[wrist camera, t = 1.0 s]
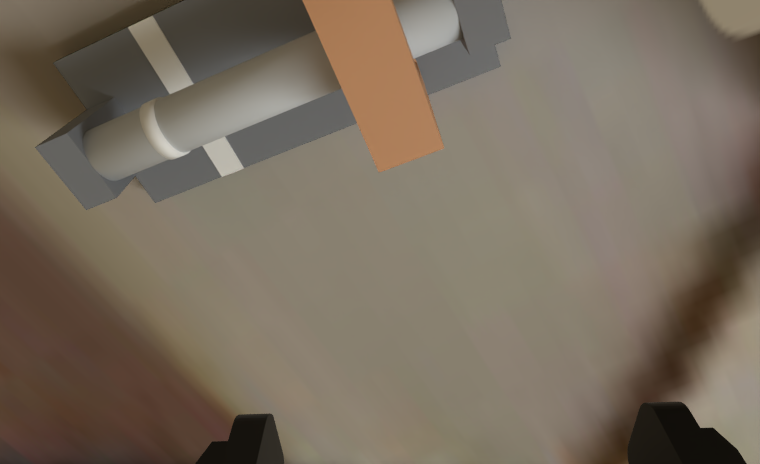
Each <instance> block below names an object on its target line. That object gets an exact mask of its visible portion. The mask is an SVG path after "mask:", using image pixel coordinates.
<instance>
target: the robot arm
mask: <svg viewBox="0 0 760 464" xmlns="http://www.w3.org/2000/svg"><path fill="white" fill-rule="evenodd" d="M628 462H629V464H746V462H745V461H744V459H743V458H742V456H741V454H740V453H739V451H738V450H737V449H736V448H735V447H734V446H733V445H732V444H731V443H729V442H728V441H727V440H726V439H725V438H724V437H723V436H722V435H720V434H719V433H718V432H717V431H716V430H715V429H714V428H700V427H699V425H698V424H697V422H696V420H695V419H694V417H693V415H692V414H691V412H690V410H689V409H688V408H687V406H686V405H685V404H683V403H682V402H654V403H643V404H642V405H641V406H640V409H639V412H638V415H637V419H636V422H635V425H634V428H633V431H632V435H631V438H630V441H629V444H628ZM196 464H284V457H283V452H282V448H281V444H280V440H279V436H278V432H277V429H276V425H275V421H274V417H273V415H272V414H246V415H238V416H236V418H235V420H234V423H233V426H232V429H231V433H230V436H229V440H228V441H218V442H211V444H210V445H209V446H208V448H207V449H206V450H205V452H204V453H203V454H202V456H201V457H200V458H199V460H198V461H197V462H196Z"/></svg>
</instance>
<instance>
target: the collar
mask: <svg viewBox="0 0 760 464" xmlns="http://www.w3.org/2000/svg"><path fill="white" fill-rule="evenodd" d="M302 1H303V3H304V5H305V7H306V10H307V12H308V14H309V16H310V19H311V21H312V23H313V25H314V27H315V30H316V32H317V34H318V36H319V39H320V41H321V43H322V45H323V48H324V50H325V52H326V54H327V57H328V59H329V61H330V63H331V66H332V68H333V70H334V72H335V75H336V77H337V79H338V81H339V84H340V86H341V88H342V90H343V93H344V95H345V97H346V99H347V101H348V104H349V106H350V108H351V110H352V113H353V115H354V117H355V119H356V122H357V124H358V126H359V128H360V131H361V133H362V135H363V137H364V140H365V142H366V144H367V146H368V149H369V151H370V153H371V155H372V158H373V160H374V162H375V164H376V167H377V169H378V171H379V172H382V171H385V170H387V169H390V168H393V167H395V166H398V165H401V164H403V163H406V162H409V161H411V160H414V159H417V158H419V157H422V156H425V155H427V154H430V153H433V152H435V151H438V150H441V149H443V148H444V146H443V142H442V139H441V136H440V133H439V129H438V126H437V123H436V120H435V117H434V113H433V110H432V107H431V104H430V100H429V97H428V94H427V91H426V87H425V84H424V81H423V78H422V75H421V73H420V70H419V67H418V64H417V61H416V59H414V58H413V56H412V53H411V50H410V47H409V45H408V42H407V39H406V36H405V33H404V31H403V28H402V25H401V22H400V20H399V17H398V14H397V11H396V8H395V6H394V3H393V0H302Z"/></svg>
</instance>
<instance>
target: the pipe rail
mask: <svg viewBox="0 0 760 464" xmlns="http://www.w3.org/2000/svg"><path fill="white" fill-rule="evenodd" d="M393 3H394V6H395V8H396V11H397V14H398V17H399V20H400V22H401V25H402V28H403V31H404V33H405V36H406V39H407V42H408V45H409V47H410V50H411V53H412V56H413V58H414V59H416V61H417V64H418V67H419V70H420V73H421V75H422V78H423V81H424V84H425V87H426V91H427V94H428V95H429V94H432V93H434V92H437V91H440V90H442V89H445V88H447V87H450V86H452V85H455V84H457V83H460V82H462V81H465V80H467V79H470V78H472V77H475V76H477V75H480V74H483V73H485V72H488V71H490V70H493V69H495V68H498V67H500V66H501V65H500V62H499V58H498V54H497V51H496V47H495V45H496V44H499V43H501V42H503V41H506V40H508V39H511V37H510V33H509V29H508V25H507V21H506V17H505V13H504V9H503V5H502V1H501V0H393ZM53 64H54V65H55V66H56V68H57V69H58V71H59V72H60V73H61V75H62V76H63V77H64V79H65V80H66V81H67V83H68V84H69V86H70V87H71V88H72V90H73V91H74V92H75V94H76V95H77V97H78V98H79V99H80V101H81V102H82V103H83V105H84V106H85V108H86V109H87V110H86V111H84V112H83V113H81V114H80V115H79V116H77V117H76V118H75V119H73V120H72V121H71V122H69V123H68V124H66V125H65V126H64V127H62V128H61V129H60V130H58V131H57V132H55V133H54V134H53V135H51V136H50V137H49V138H47V139H46V140H44V141H43V142H42V143H40V144H39V145H38V146H36V147H35V148H36V149H37V150H38V152H39V153H40V154H41V155H42V157H43V158H44V159H45V160H46V161H47V163H48V164H49V165H50V166H51V168H52V169H53V170H54V171H55V172H56V174H57V175H58V176H59V177H60V179H61V180H62V181H63V182H64V183H65V185H66V186H67V187H68V188H69V190H70V191H71V192H72V193H73V194H74V196H75V197H76V198H77V199H78V201H79V202H80V203H81V204H82V206H83V207H84V208H85V209H86V210H88V209H90V208H93V207H95V206H98V205H100V204H102V203H105V202H107V201H110V200H112V199H115V198H117V197H118V196H119V194H120V193H121V192H122V191H123V190H124V189H125V187H126V186H127V185H128V184H129V183H130V182H131V180H132V179H133V178H134V177H135V176H136V178H137V179H138V180H139V182H140V183H141V184H142V186H143V187H144V189H145V190H146V191H147V193H148V194H149V195H150V197H151V198H152V200H153V201H154V202H155V203H156V202H159V201H161V200H164V199H166V198H169V197H171V196H174V195H176V194H179V193H182V192H184V191H187V190H189V189H192V188H194V187H197V186H199V185H202V184H204V183H207V182H209V181H212V180H214V179H217V178H219V177H223V176H226V175H228V174H231V173H233V172H236V171H239V170H241V169H243V168H245V167H247V166H250V165H252V164H255V163H257V162H260V161H262V160H265V159H268V158H270V157H273V156H275V155H278V154H280V153H283V152H285V151H288V150H290V149H293V148H295V147H298V146H300V145H303V144H305V143H308V142H311V141H313V140H316V139H318V138H321V137H323V136H326V135H328V134H331V133H333V132H336V131H338V130H341V129H343V128H346V127H348V126H351V125H354V124H356V123H357V122H356V119H355V117H354V115H353V113H352V110H351V108H350V106H349V104H348V101H347V99H346V97H345V95H344V93H343V90H342V88H341V86H340V84H339V81H338V79H337V77H336V75H335V72H334V70H333V68H332V66H331V63H330V61H329V59H328V57H327V54H326V52H325V50H324V48H323V45H322V43H321V41H320V39H319V36H318V34H317V32H316V30H315V27H314V25H313V23H312V21H311V19H310V16H309V14H308V12H307V10H306V7H305V5H304V3H303V1H302V0H184V1H182V2H179V3H177V4H175V5H173V6H171V7H169V8H167V9H165V10H163V11H160V12H158V13H156V14H154V15H152V16H150V17H148V18H146V19H144V20H142V21H139V22H137V23H135V24H133V25H131V26H129V27H127V28H125V29H123V30H120V31H118V32H116V33H114V34H112V35H110V36H108V37H106V38H104V39H101V40H99V41H97V42H95V43H93V44H91V45H89V46H87V47H85V48H83V49H80V50H78V51H76V52H74V53H72V54H70V55H68V56H66V57H64V58H62V59H60V60H58V61H56V62H54V63H53Z"/></svg>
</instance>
